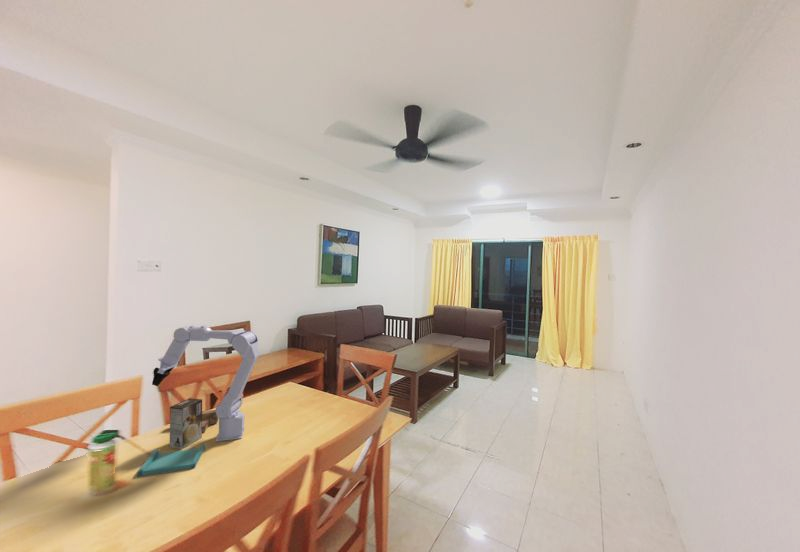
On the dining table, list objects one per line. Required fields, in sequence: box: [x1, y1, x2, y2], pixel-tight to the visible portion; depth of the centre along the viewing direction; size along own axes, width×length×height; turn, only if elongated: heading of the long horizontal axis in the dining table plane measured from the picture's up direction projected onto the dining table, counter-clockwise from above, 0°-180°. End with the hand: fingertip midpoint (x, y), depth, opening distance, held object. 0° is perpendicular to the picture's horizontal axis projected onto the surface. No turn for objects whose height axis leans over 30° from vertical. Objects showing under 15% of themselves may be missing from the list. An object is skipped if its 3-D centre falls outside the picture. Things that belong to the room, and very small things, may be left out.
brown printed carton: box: [202, 409, 219, 433], centre depth 134 cm, size 16×10×5 cm, turn 109°
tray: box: [137, 443, 206, 477], centre depth 111 cm, size 16×13×2 cm
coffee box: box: [169, 397, 203, 450], centre depth 123 cm, size 9×6×16 cm
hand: (159, 380), depth 129 cm, fingers open, 7 cm apart
